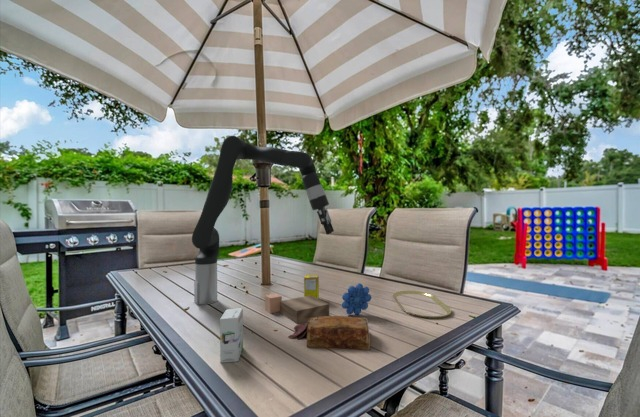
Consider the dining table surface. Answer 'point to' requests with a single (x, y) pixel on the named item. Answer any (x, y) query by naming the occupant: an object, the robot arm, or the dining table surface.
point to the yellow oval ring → (427, 296)
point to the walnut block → (303, 308)
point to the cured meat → (335, 332)
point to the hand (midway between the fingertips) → (330, 232)
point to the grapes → (356, 299)
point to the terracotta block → (272, 303)
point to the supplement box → (311, 286)
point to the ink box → (231, 335)
